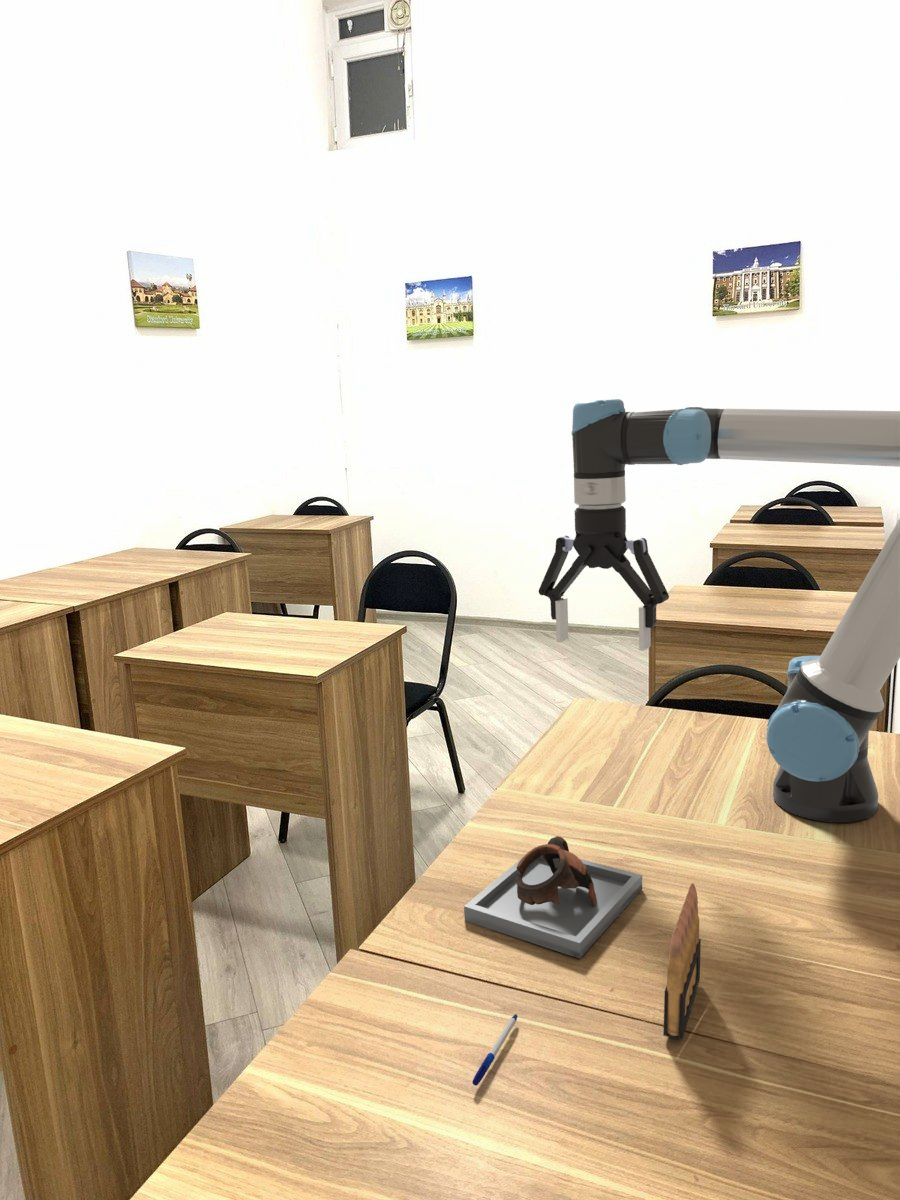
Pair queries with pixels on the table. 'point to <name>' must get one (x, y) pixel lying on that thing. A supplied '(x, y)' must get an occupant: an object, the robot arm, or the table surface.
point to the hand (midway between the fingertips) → (602, 644)
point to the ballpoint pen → (494, 1051)
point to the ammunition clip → (682, 968)
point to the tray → (555, 907)
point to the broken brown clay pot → (554, 874)
